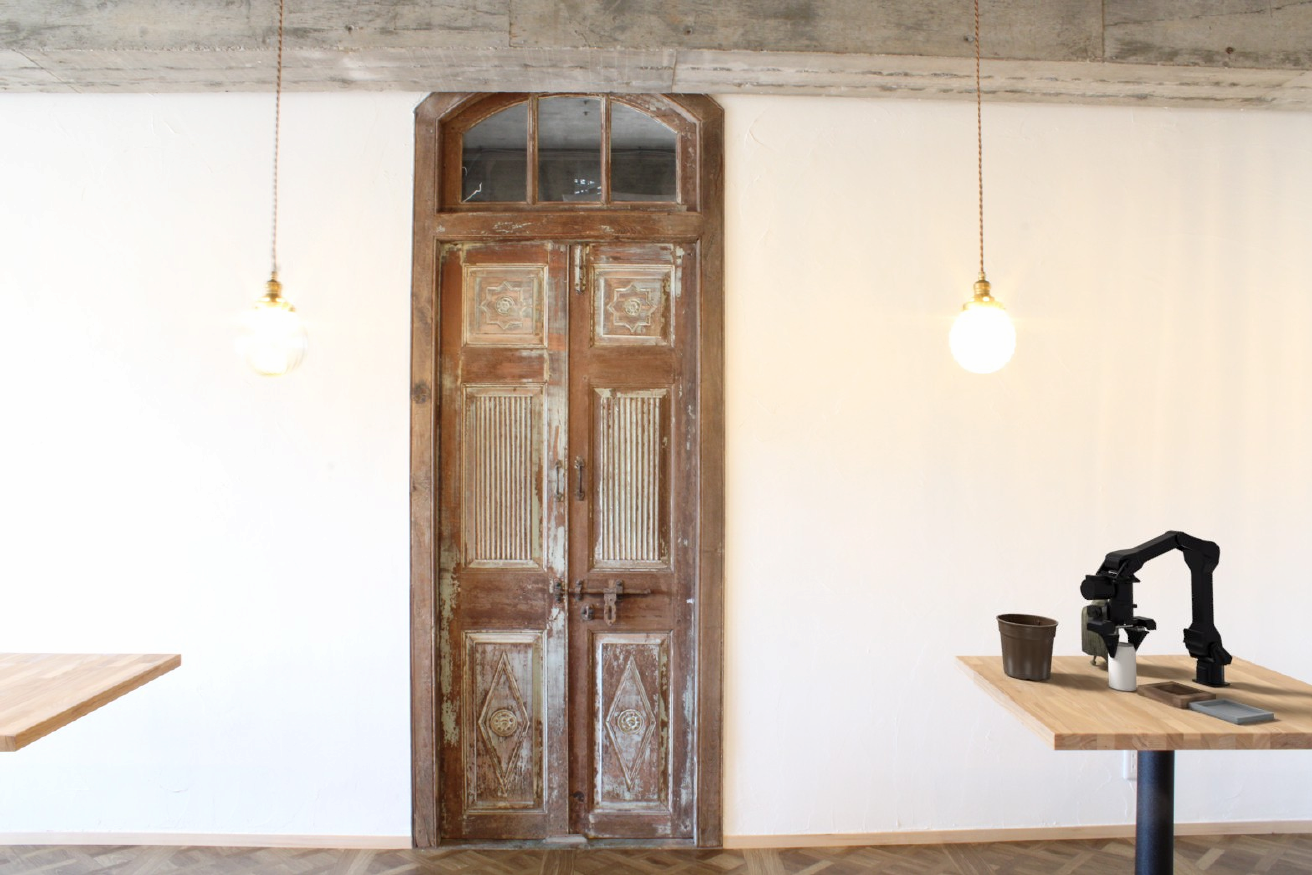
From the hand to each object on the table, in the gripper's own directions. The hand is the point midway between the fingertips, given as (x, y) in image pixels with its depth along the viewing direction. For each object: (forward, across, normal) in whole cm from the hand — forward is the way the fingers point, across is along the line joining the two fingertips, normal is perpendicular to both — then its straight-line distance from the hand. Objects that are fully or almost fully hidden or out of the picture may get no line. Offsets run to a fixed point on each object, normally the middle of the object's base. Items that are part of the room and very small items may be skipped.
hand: (1122, 656), depth 210 cm
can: (+9, 0, 0) cm, 9 cm away
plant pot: (+9, +15, -18) cm, 25 cm away
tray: (+8, -7, +24) cm, 26 cm away
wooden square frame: (+8, -5, +12) cm, 15 cm away
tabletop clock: (+9, -13, -19) cm, 25 cm away
